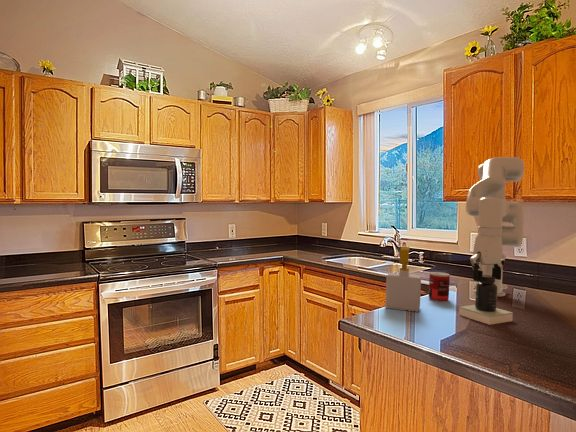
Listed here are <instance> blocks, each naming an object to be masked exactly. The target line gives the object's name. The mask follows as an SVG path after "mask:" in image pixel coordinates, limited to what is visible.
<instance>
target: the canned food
mask: <svg viewBox="0 0 576 432" xmlns="http://www.w3.org/2000/svg"><path fill="white" fill-rule="evenodd" d="M450 275H451V274H450V273H447V272H441V271H431V272H429V280H428V298H429V299H430V300H431V301H435V302H448V301H449V297H450V283H451V281H450V279H451V278H450V277H451V276H450Z"/></svg>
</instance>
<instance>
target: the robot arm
mask: <svg viewBox="0 0 576 432" xmlns="http://www.w3.org/2000/svg"><path fill="white" fill-rule="evenodd" d="M477 174H478V179H479V181H478V182H476V183H475V184H473V186H471V187H470V188H469V190H468V192H467V197H466V201H465V211H466V213H467V215H468V216H470V217H476V218H477V217H478V218H477V219H478V222H477V235H476V237H475V240H474V245H473V251H472V256H471V257H470V258H469V261H470V265H471V268H472V270H473V279H472V280H473V282H477V283H479V282H482V278H483V275H490V276H494V277H495V282H494V284H496V285H497V287H498V292H497V298H499V297H501V298H502V297H505V296H506V292H505V291H503V290H506V289H508V285H507V284H503V267H504V264H505V261H506V257H507V256H506V255H505V254H504V253H503V247H504V248H505V247H506V248H519V247H521V246H522V244H523V242H524V241H523V239H524V223H525V222H524V219H525V218H524V217H525V211H524V210H525V209H524V206H523V204H522V203H521V202H520V201H508V200H507V199H506V189H505V188H506V184H507V183H511V182H512V183H517V182H520V181H522V179H523V178H524V175H525V163H524V160H523V159H522V158H520V157H517V156H507V157H505V156H504V157H503V156H501V157H498V156H497V157H492V158H489V159H487V160H485V161H484V162H483V163H482V164H480V165H478V169H477ZM503 223H504V224H505V223H509V224H511V225H503ZM473 291H474V293H475V294H476V288H474V289H473Z"/></svg>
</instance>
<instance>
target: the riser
mask: <svg viewBox="0 0 576 432" xmlns="http://www.w3.org/2000/svg"><path fill="white" fill-rule="evenodd" d="M513 314H514V313H513V312H512V311H509V310H505V309H501V308H498V307H496V311H494V312H487V311H482V310H478V309H476V307H475V304H471V305H470V304H469V305H463V306H459V314H458V315H459V316H462V317H464V318H468V319H471V320H473V321H477V322H480V323H483V324H486V325H495V324H502V323H508V322H513Z"/></svg>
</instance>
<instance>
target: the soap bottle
mask: <svg viewBox="0 0 576 432" xmlns="http://www.w3.org/2000/svg"><path fill="white" fill-rule="evenodd" d="M410 249H411V248H410V247H409V246H400V249H399V263H400V264H401V267H399V272H398V273H397V272H388V274H386V280H385V281H386V283H385V308H386V309H393V310H398V309H400V310H401V311H406V310H408V311H407V312H414V311H415V312H414V313H417V312H420V308H421V294H422V293H421V292H422V291H421V290H422V288H421V287H422V276H421V275H419V274H409V273H410V272H409V271H410V268H408V265H409V263H410V260H409V258H410ZM400 310H399V311H400Z"/></svg>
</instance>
